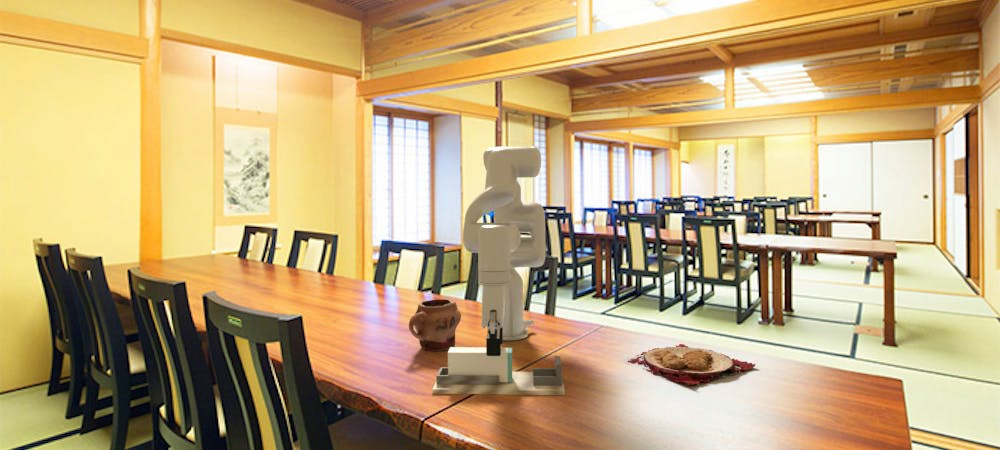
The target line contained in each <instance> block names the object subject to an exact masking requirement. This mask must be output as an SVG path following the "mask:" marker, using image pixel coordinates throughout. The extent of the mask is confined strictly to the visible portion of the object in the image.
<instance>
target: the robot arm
mask: <svg viewBox="0 0 1000 450" xmlns="http://www.w3.org/2000/svg"><path fill="white" fill-rule="evenodd" d="M482 160H483V164H484V165H483V166H484V168H485V171H486V173H485V174H486V175H485V176H486V177H485V184H484V185H485V186H484V191H483V192H481V193H480V194H479V195H478V196H476V197H475V198H474V199H473V200H472V202H471V203H470V205H469V206H468V207H467V210H466V211H465V215H464V223H463V230H462V244H463V247H464V249H465V250H466V251H468V252H470V253H472V254H477V255H478V258H477V261H478V263H477V264H478V265H477V267H478V268H477V269H478V270H477V271H478V279H477V281H478V285H479V286H482V289H481V290H482V294H481V295H482V296H481V328H482V329H485V328H486V327H487V329H486V331H487V332H486V333H487V334H486V339H485V340H486V341H485V342H486V344H485V345H486V347H485V348H486V354H487V356H500V355H501V348H502V347H501V346H502V345H503V342H504V341H505V342H507V341H509V342H510V341H513V342H514V341H520V340H523V339H525V338H527V337H528V336H529V331H528V330H527V329H526V328H527V327H531V326H533V325H534V321H533V319H528V320H527V319H524V280H523V278H522V277H521V275H520V273H518V271H517V270H516V268H540V267H542V266H543V265H544V264H545V262H546V249H547V248H546V215H545V209H544V207H543V206H542V204H541V203H538V202H523V201H522V189H521V188H522V186H521V184H520V182H519V181H518V178H536V177H537V176H539V174H540V170H541V167H542V155H541V152H540V149H539V148H538V147H537V146H530V145H529V146H496V147H495V146H494V147H489V148H487V149H486V150H485V151H484V153H483V158H482ZM491 212H493V214H494V215H493V217H494V222H478V221H479V220H480V219H481V218H483V216H486V215H487V214H490V213H491ZM521 233H522V234H523V233H524V234H529V235H530V236H531V237H530V236H526V237H525V236H524V237H523V236H522V234H521ZM521 236H522V237H521Z"/></svg>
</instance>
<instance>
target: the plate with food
mask: <svg viewBox="0 0 1000 450" xmlns="http://www.w3.org/2000/svg"><path fill="white" fill-rule="evenodd" d="M640 359H642V360H640ZM626 362H627V363H630V364H637V365H638V366H644V367H646V368H644V367H643V368H642V370H644V371H646V372H648V373H651V374H653V375H657V376H661V375H662V376H663V373H666V374H664V377H667V379H668V380H669V381H672V382H673V383H674V382H676V383H681V384H685V385H686V386H690V385H691V386H693V385H697V386H698V385H699V384H700V383H702V382H703V383H704V384H707V383H708V384H709V382H710V381H713V380H716V379H719V378H720V377H721V378H725V377H726V376H725V375H723V374H722V375H721V373H722V372H725V371H728V370H731V371H730V373H729V376H733V375H737V374H738V375H740V374H741V373H742V372H741V371H747V370H750V369H753V368H754V367H755V366H756V365H757V364H756V363H752V362H748V361H741V360H739V359H735V358H730V356H729V355H726V354H723V353H721V352H715V351H714V350H712V349H707V348H700V347H698V348H697V347H691V346H688V345H686V344H683V343H679V344H678V346H677V345H675V346H666V347H663V348H662V347H655V348H652V349H648V350H647V351H642V353H640V354H637V355H636V358H632V359H630V360H628V361H626ZM736 367H737V368H736ZM648 368H650V369H648ZM662 372H663V373H662ZM719 374H720V375H719ZM675 375H677V376H679V377H677V376H675Z"/></svg>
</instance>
